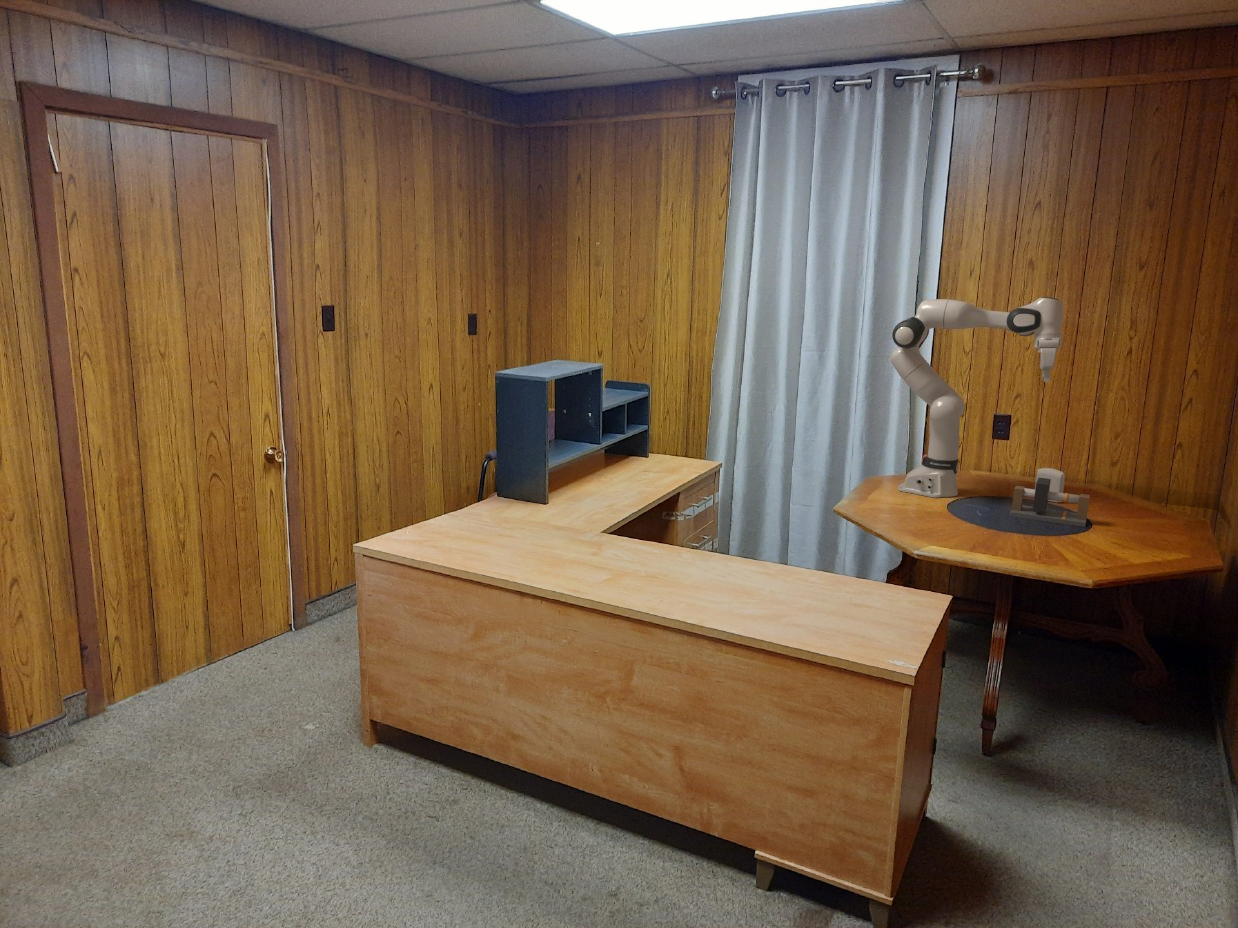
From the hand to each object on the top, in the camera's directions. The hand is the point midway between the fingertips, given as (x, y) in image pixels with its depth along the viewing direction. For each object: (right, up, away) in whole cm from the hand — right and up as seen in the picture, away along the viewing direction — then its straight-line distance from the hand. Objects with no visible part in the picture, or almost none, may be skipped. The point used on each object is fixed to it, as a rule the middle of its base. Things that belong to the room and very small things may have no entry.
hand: (1045, 382), depth 308 cm
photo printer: (+12, -44, +23) cm, 51 cm away
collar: (-2, -45, +1) cm, 45 cm away
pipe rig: (+1, -49, 0) cm, 49 cm away
